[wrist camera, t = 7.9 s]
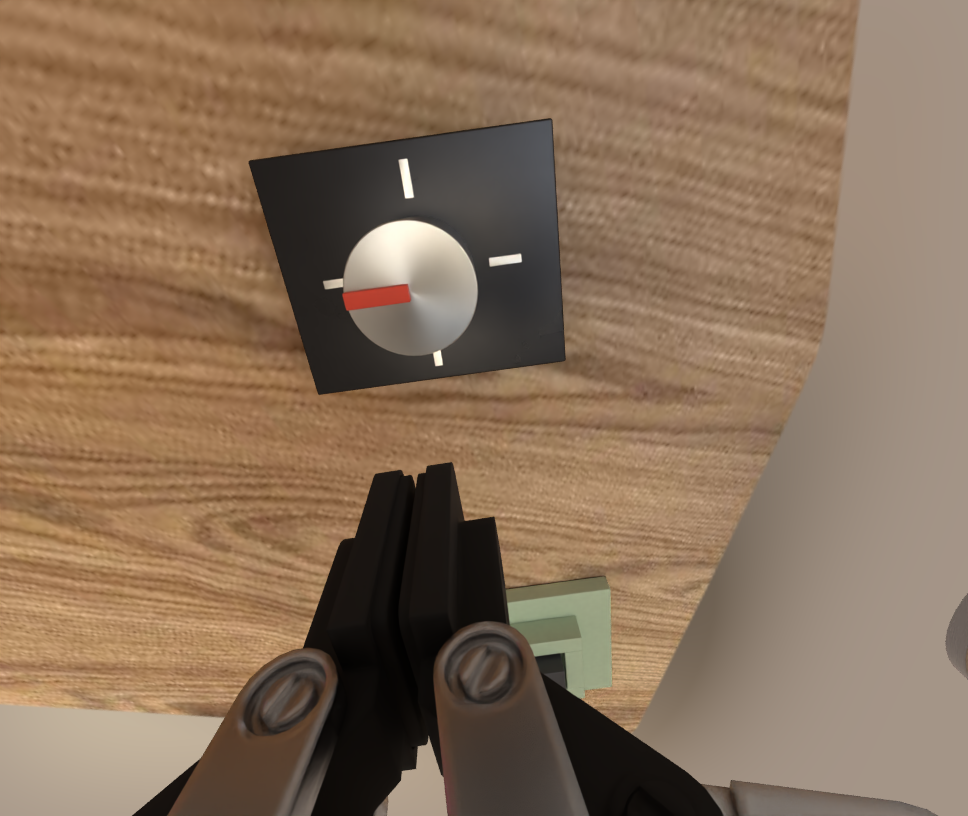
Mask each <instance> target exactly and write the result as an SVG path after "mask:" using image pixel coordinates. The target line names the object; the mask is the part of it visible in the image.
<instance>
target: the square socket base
mask: <svg viewBox="0 0 968 816" xmlns="http://www.w3.org/2000/svg"><path fill="white" fill-rule="evenodd" d="M506 596H507V604H508V612H509V620H510V626H511V627H513V628H516V629H517V630H518V631H519V632H520V633H521V634H522V635H523V636H524V637H525V638H526V639H527V641H528V643H529V645H530V647H531V648H532V650H533V653H534V656H542V655H550V654H557V653H560V654H561V658H562V662H563V667H564V671H565V683H566V690H568V691H569V692H571V693H572V694H574V695H575V696H577V697H578V698H585V690H591V689H598V688H606V687H612V655H611V595H610V587H609V584H608V582H607V579H606V577H605V576H603V577H596V578H588V579H581V580H573V581H566V582H558V583H551V584H543V585H536V586H529V587H521V588H514V589H506Z"/></svg>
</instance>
